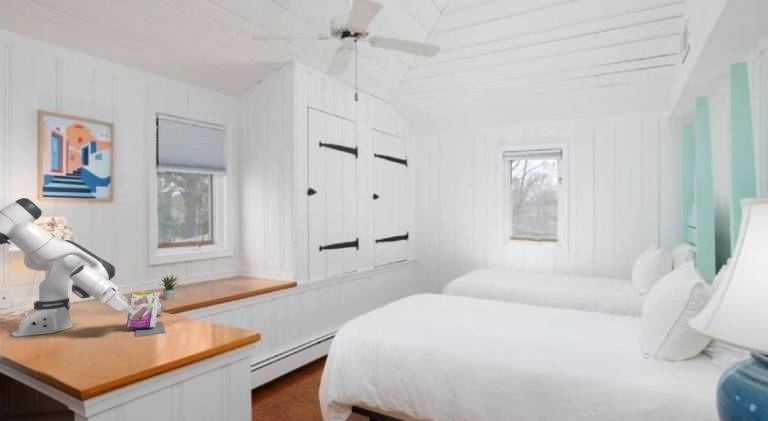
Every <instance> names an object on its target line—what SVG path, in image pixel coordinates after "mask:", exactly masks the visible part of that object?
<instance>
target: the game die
mask: <svg viewBox="0 0 768 421" xmlns="http://www.w3.org/2000/svg"><path fill="white" fill-rule="evenodd" d="M164 310H166V308H164V306H163V305H162V300H159V302H158V309H157V316H159V317H162V316H161V314H162V312H163V311H164Z"/></svg>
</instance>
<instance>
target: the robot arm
mask: <svg viewBox="0 0 768 421" xmlns="http://www.w3.org/2000/svg"><path fill="white" fill-rule="evenodd" d="M42 213H43V211H42V209H41V207H40V205H39V204H38V203H37V202H36V201H34V200H32V199H29V198H27V197H21V198H18V199H17V200H15V202H12V203H11V204H9V205H7V206H6V207H3V208H1V209H0V245H1V246H2V245H5V244H7V245H11V243H13V244H14V245H15V246H16V247H17V249H19V250H20V251H21V252H22V253H23V254H24V256H23V257H24V258H23V263H24V265H25V267H26V268H27V269H29V270H34V271H43V272H45V271H46V272H47V274H46V277H45V279H43V280H42V281H41V282H40V283H39V285H38V300H35V301H34V303H33V310H32V311H30V312H29V313H27V315H25V316H24V317H22V319H20V320H19V323H18V325H17V326H18V327H17V329H16V330H14V331H12V333H11V337H13V338H15V337H27V336H37V335H45V334H53V333H58V332H60V331H64V330H68V329H70V328H73V327H74V325H73V322H72V319H71V315H70V307H71V306H70V304H71V303H70V297H69V280H71V281H72V284H71V292H72V293H73V294H75V295H76V296H77V297H79V298H80V299H90V298H91V297H93V298H94V299H96V300H97V301H99V302H100V303H101V304H103V305H107V306H108V307H110V308H112V309H113V310H116V311H117V312H119V313H122V312H124V311H126V312H128V313H131V314H133V313H134V312H135V310H134V309H133V308H132V307H131V306H130V303H128V302H129V299H128V298H127V297H126V296H124V294H122V293H121V292H120V291H119V288H120V287H118V285H117V284H115V283H113V282H112V281H110V280H111V279H113V278H114V277H115V275H116V267H115V266H114V265H113V264H112V263H110V262H108V261H107V260H105V259H103V258H101V257H99V256H98V255H96V254H95V253H93V252H91V251H90V250H88V249H87V248H85V247H83V246H81V245H80V244H78V243H77V242H74V241H72V240H69V239H65V240H61V239H58V238H57V237H55V236H54V235H53V234H51V233H50V232H49V231H48V230H47V229H45V228H44V227H42V226H40V224H37V223H36V222H35V221H38V220H39V218H40V217H41V216H42ZM9 241H10V242H9ZM82 261H84V262H86V263H87V264H89V265H90V266H88V265H86V264H82V265H80V263H81V262H82Z"/></svg>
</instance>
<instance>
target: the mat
mask: <svg viewBox="0 0 768 421" xmlns="http://www.w3.org/2000/svg"><path fill="white" fill-rule="evenodd" d="M161 334H166V329H165V326H164V322H163V321H156V325H155V328H135V338H139V337H146V336H153V335H154V336H155V335H161Z"/></svg>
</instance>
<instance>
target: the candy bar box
mask: <svg viewBox="0 0 768 421" xmlns="http://www.w3.org/2000/svg"><path fill="white" fill-rule="evenodd" d="M160 294H161V292H159V291H131V294H130V301H129V305H130V306H131V307H132V308H133V309H134V310H135V312H134V313H133V314H131V313H129V312H128V315H127V322H126V329H136V328H155V325H156V322H157V316H158V315H157V309H158V302H160Z"/></svg>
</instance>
